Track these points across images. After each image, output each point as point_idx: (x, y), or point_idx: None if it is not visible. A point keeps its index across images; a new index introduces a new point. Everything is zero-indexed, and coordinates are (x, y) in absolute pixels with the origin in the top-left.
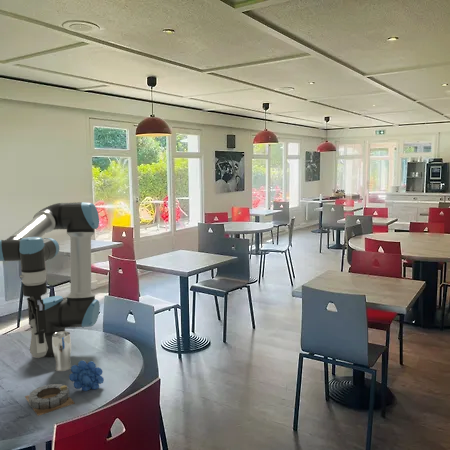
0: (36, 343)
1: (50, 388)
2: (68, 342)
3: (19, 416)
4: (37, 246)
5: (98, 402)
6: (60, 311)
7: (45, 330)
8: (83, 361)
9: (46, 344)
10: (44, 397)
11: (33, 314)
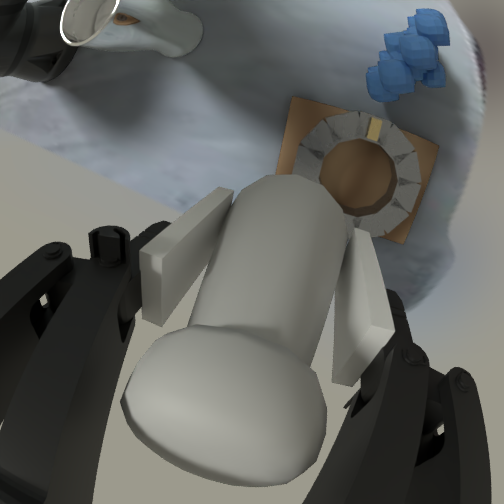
0: (337, 317)
1: (328, 152)
2: None
3: None
4: None
5: (465, 96)
6: None
7: (472, 398)
8: (431, 48)
9: (326, 208)
10: (329, 173)
11: (87, 467)
